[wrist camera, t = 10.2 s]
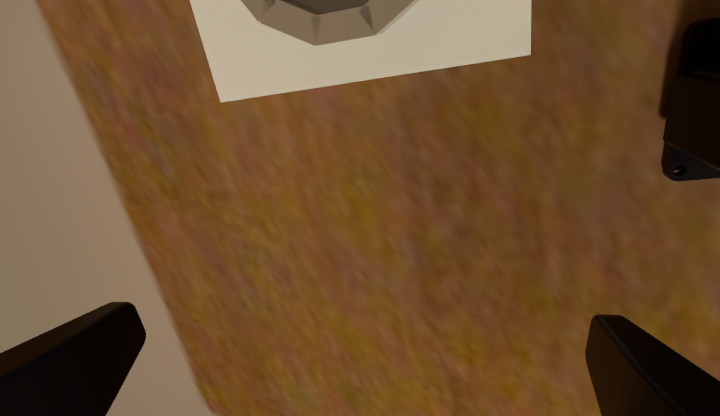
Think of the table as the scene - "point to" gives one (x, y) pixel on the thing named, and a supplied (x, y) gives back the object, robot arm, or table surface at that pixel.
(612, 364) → the robot arm
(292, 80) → the socket board
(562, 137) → the table surface
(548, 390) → the table surface
